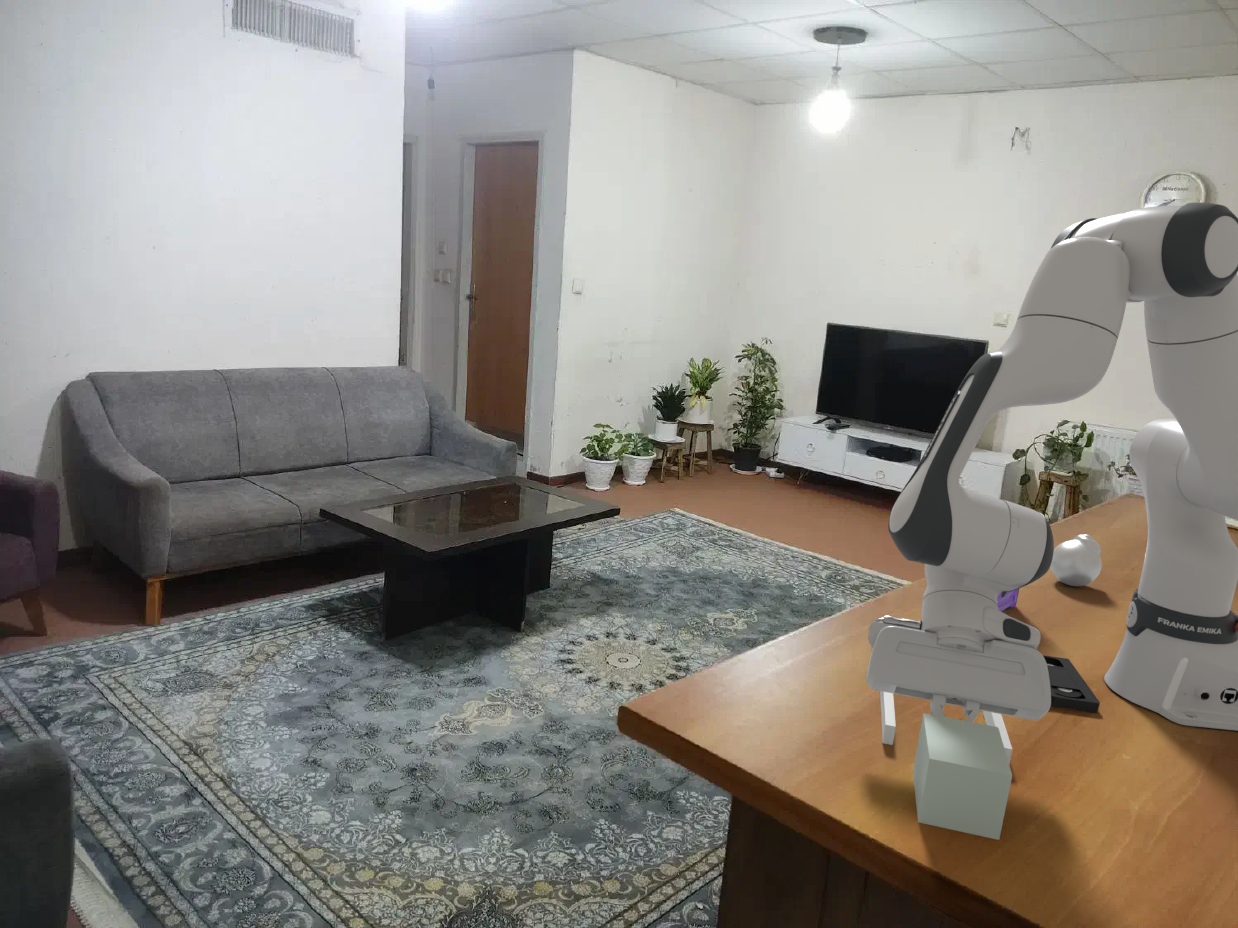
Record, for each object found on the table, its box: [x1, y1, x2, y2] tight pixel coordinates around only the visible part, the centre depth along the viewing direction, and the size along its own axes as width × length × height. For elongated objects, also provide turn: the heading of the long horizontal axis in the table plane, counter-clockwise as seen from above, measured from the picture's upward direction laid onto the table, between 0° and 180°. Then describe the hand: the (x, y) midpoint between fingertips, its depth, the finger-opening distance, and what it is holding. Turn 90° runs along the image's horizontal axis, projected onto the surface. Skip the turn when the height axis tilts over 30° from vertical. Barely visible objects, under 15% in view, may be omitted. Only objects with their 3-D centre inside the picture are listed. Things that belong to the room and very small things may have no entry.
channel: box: [871, 646, 1013, 765], centre depth 120 cm, size 16×30×2 cm, turn 165°
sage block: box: [912, 712, 1013, 841], centre depth 96 cm, size 8×10×8 cm
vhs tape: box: [1042, 654, 1101, 714], centre depth 128 cm, size 14×8×2 cm, turn 170°
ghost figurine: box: [1050, 533, 1103, 587], centre depth 170 cm, size 9×10×10 cm
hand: (952, 740), depth 101 cm, fingers closed, pressing on sage block
